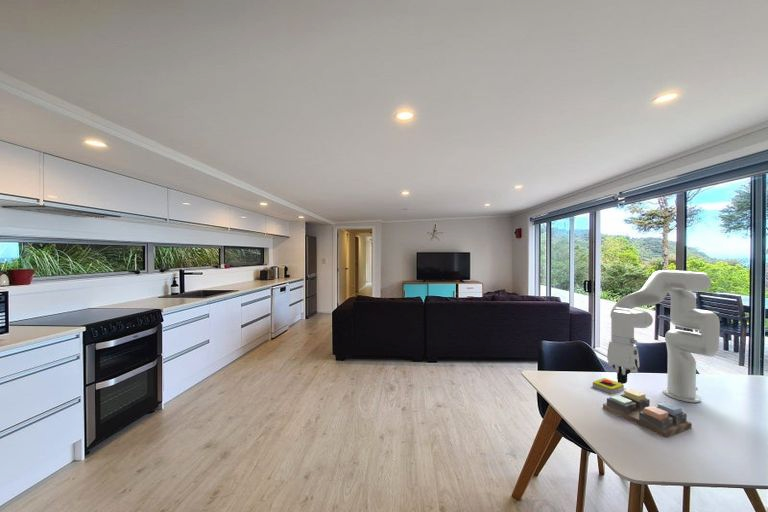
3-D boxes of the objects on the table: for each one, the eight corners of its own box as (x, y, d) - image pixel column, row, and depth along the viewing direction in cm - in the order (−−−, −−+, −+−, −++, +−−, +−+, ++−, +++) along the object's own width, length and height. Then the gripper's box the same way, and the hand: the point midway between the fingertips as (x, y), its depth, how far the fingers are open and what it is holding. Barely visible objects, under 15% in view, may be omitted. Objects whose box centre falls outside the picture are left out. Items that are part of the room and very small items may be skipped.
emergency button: (590, 379, 149) (606, 374, 155) (589, 388, 149) (606, 382, 155) (610, 387, 140) (627, 381, 147) (610, 396, 140) (627, 390, 147)
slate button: (665, 409, 121) (665, 401, 121) (681, 416, 116) (681, 407, 116) (657, 412, 119) (657, 403, 119) (674, 418, 114) (674, 410, 114)
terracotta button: (651, 414, 117) (651, 405, 117) (668, 420, 112) (668, 412, 112) (643, 416, 115) (643, 407, 115) (660, 423, 110) (660, 414, 110)
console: (627, 401, 134) (627, 390, 134) (691, 428, 114) (691, 415, 114) (602, 408, 128) (602, 396, 128) (666, 437, 108) (666, 424, 108)
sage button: (618, 402, 128) (618, 395, 128) (632, 408, 124) (632, 400, 124) (610, 405, 126) (610, 397, 126) (624, 411, 122) (624, 402, 122)
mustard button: (631, 396, 132) (631, 389, 132) (645, 402, 127) (645, 394, 127) (624, 398, 130) (624, 390, 130) (637, 404, 125) (638, 396, 125)
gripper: (648, 343, 119) (648, 388, 119) (609, 334, 133) (609, 374, 133) (637, 345, 117) (637, 391, 117) (598, 336, 130) (598, 377, 131)
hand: (622, 382), depth 125 cm, fingers closed
